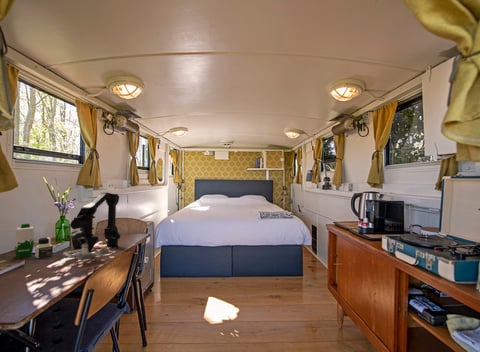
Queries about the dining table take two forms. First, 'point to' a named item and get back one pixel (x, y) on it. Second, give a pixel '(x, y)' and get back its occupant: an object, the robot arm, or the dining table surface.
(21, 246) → the milk carton
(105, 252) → the filter head
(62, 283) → the dining table surface
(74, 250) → the tray
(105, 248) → the plunger
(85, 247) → the cartridge
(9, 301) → the dining table surface
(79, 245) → the cup
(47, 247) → the medicine bottle
